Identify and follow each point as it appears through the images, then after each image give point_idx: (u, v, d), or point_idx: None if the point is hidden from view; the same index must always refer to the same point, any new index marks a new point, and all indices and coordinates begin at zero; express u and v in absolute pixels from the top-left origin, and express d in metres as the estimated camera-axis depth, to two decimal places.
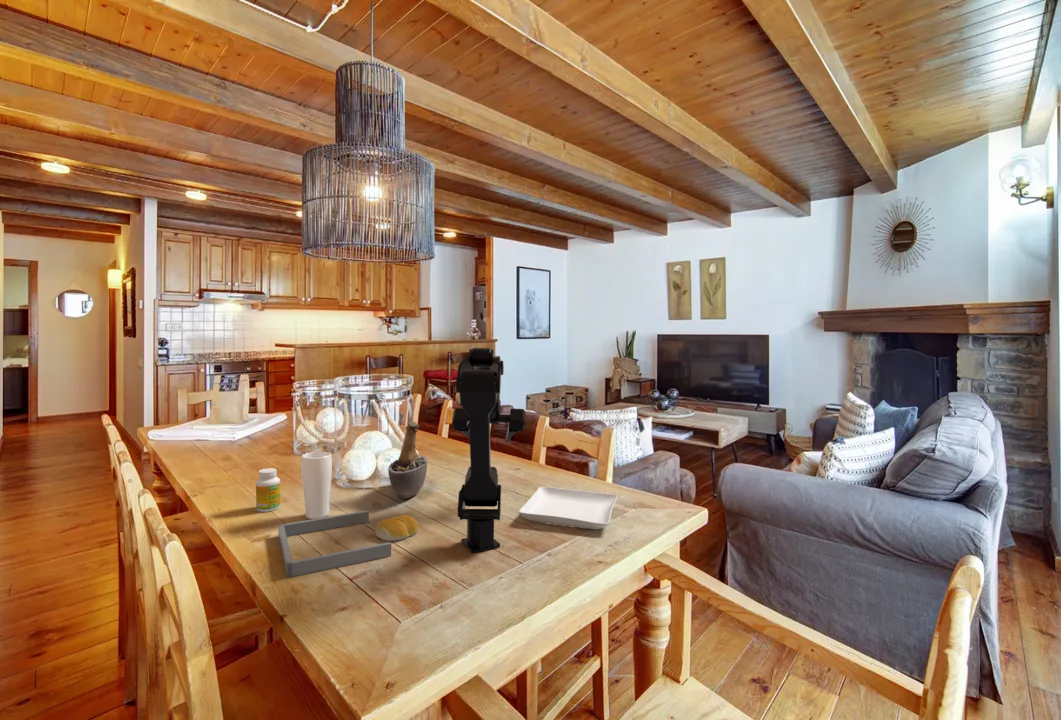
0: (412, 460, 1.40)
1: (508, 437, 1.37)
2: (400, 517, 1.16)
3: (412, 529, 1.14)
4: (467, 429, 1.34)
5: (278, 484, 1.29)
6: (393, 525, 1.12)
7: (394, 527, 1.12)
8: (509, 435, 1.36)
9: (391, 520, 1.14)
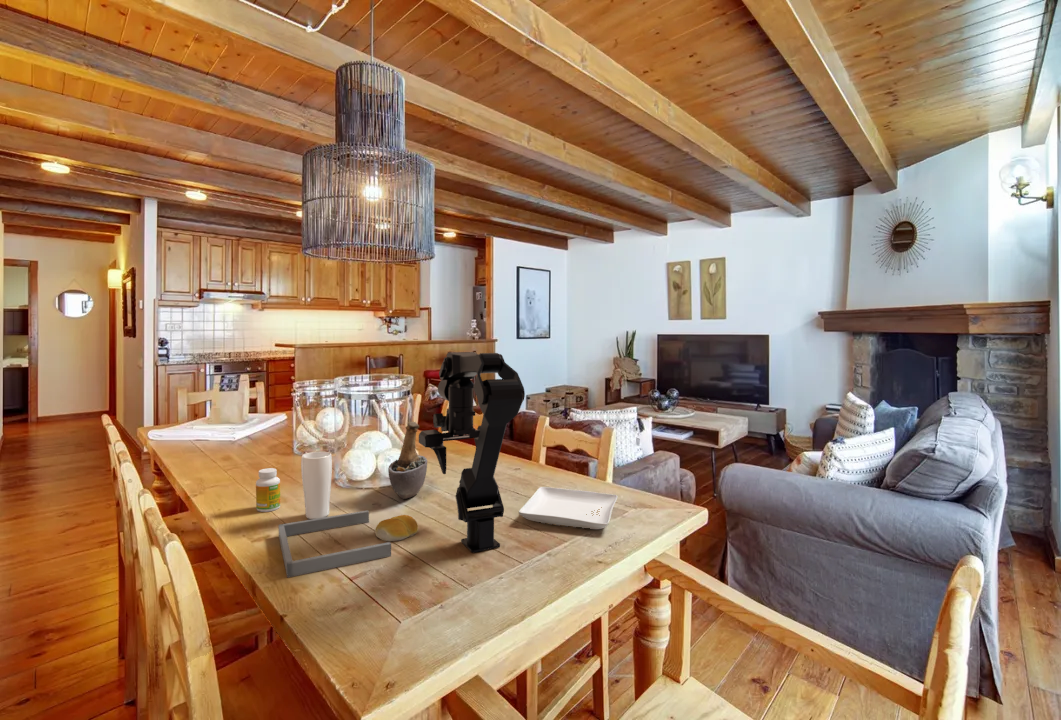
0: (412, 460, 1.40)
1: None
2: (400, 517, 1.16)
3: (412, 529, 1.14)
4: (444, 447, 1.17)
5: (278, 484, 1.29)
6: (393, 525, 1.12)
7: (394, 527, 1.12)
8: None
9: (391, 520, 1.13)
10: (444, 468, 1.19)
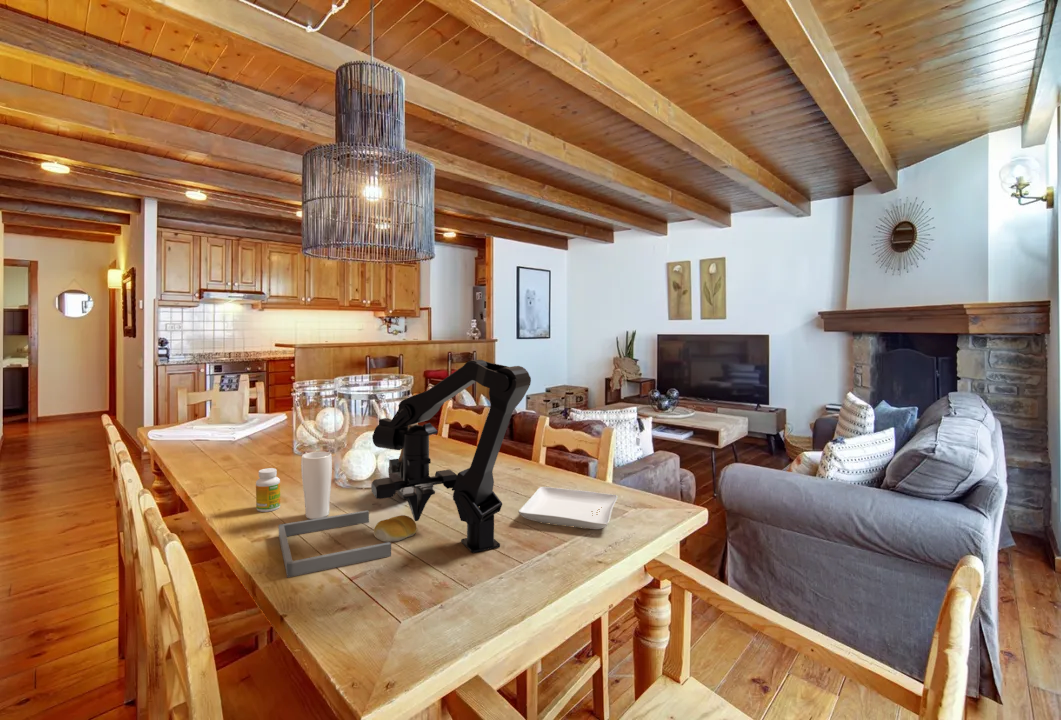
0: None
1: (421, 507, 1.16)
2: (398, 518, 1.16)
3: (410, 530, 1.14)
4: (414, 494, 1.15)
5: (278, 484, 1.29)
6: (391, 525, 1.12)
7: (392, 528, 1.11)
8: (423, 502, 1.16)
9: (389, 521, 1.13)
10: (415, 515, 1.16)
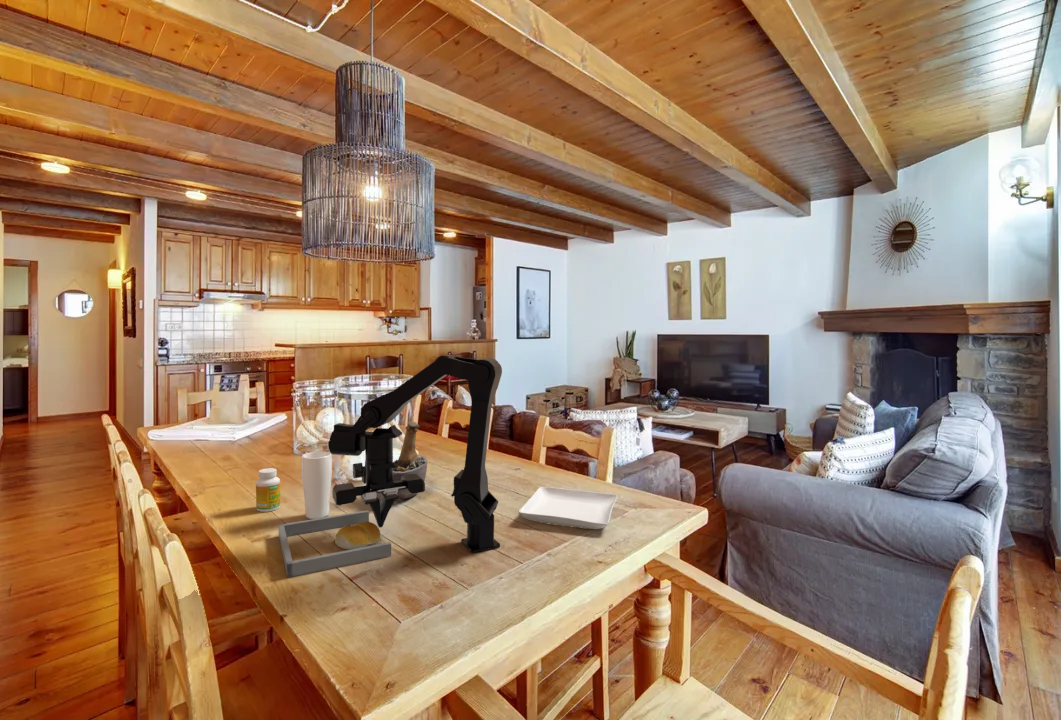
0: (412, 460, 1.40)
1: (384, 513, 1.12)
2: (361, 524, 1.12)
3: (373, 537, 1.10)
4: (377, 500, 1.10)
5: (278, 484, 1.29)
6: (352, 532, 1.08)
7: (353, 535, 1.07)
8: (386, 508, 1.12)
9: (351, 527, 1.09)
10: (379, 521, 1.12)
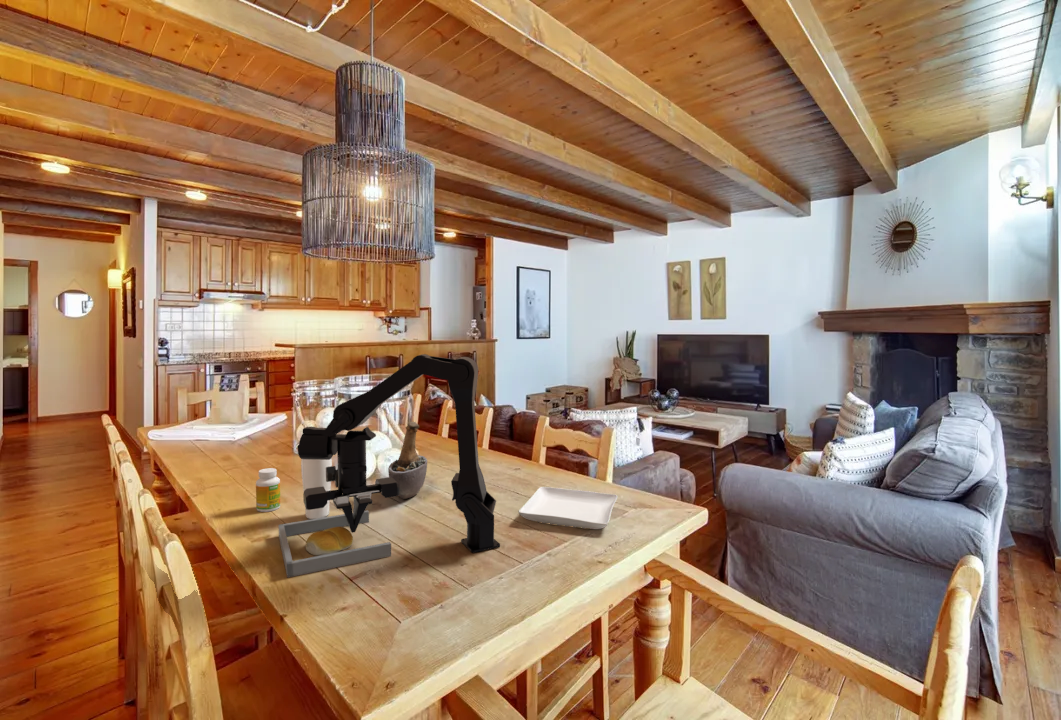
0: (412, 460, 1.40)
1: (357, 518, 1.09)
2: (333, 529, 1.09)
3: (345, 543, 1.07)
4: (349, 504, 1.08)
5: (278, 484, 1.29)
6: (323, 538, 1.05)
7: (324, 540, 1.05)
8: (359, 513, 1.09)
9: (322, 533, 1.06)
10: (351, 526, 1.10)
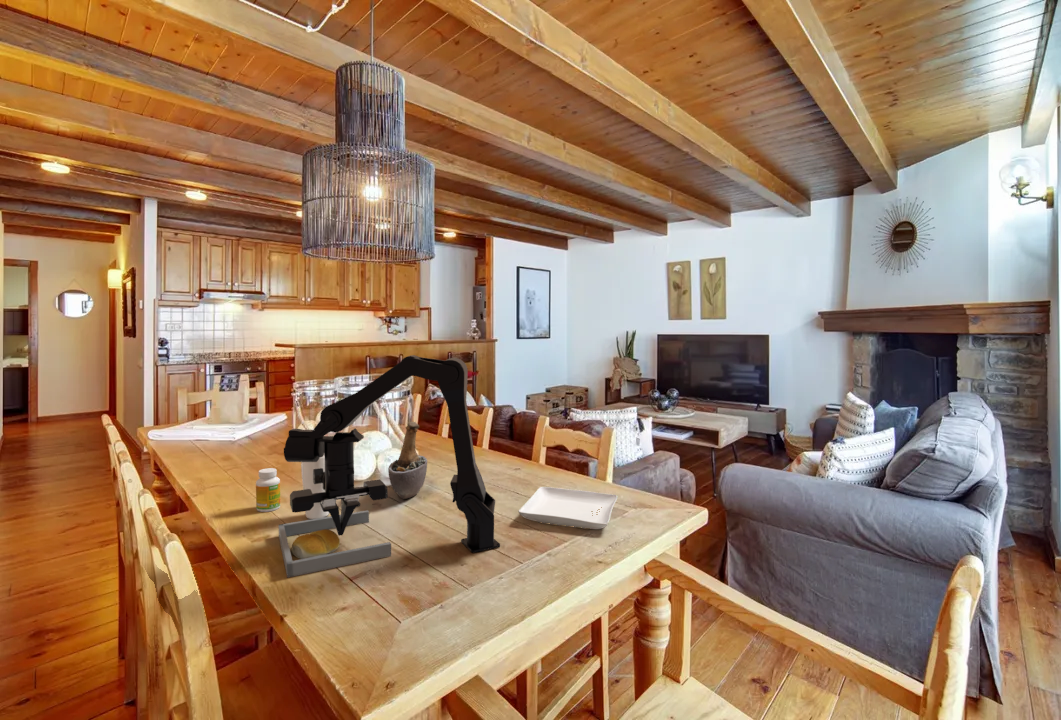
0: (412, 460, 1.40)
1: (344, 520, 1.08)
2: (319, 532, 1.07)
3: (331, 546, 1.05)
4: (336, 507, 1.06)
5: (278, 484, 1.29)
6: (309, 541, 1.03)
7: (310, 544, 1.03)
8: (346, 515, 1.08)
9: (308, 536, 1.05)
10: (338, 529, 1.08)
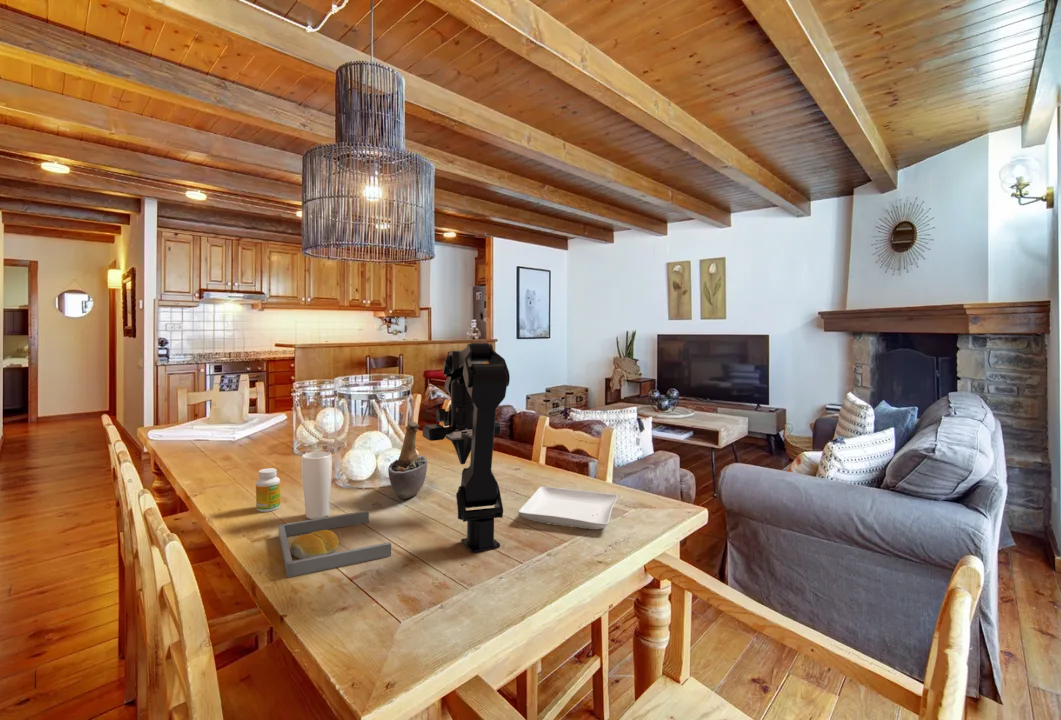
0: (412, 460, 1.40)
1: (467, 451, 1.27)
2: (319, 532, 1.07)
3: (330, 546, 1.05)
4: (462, 438, 1.26)
5: (278, 484, 1.29)
6: (308, 542, 1.03)
7: (309, 544, 1.03)
8: (469, 446, 1.27)
9: (307, 536, 1.04)
10: (462, 458, 1.27)
